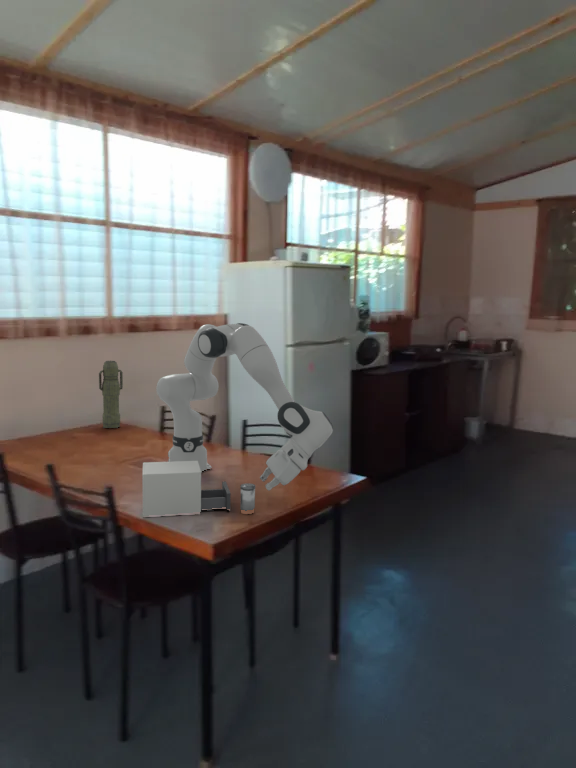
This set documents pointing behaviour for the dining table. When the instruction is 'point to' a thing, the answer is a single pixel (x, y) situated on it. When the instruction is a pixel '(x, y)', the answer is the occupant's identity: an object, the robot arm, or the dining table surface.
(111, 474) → the dining table surface
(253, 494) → the canister
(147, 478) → the grey box
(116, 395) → the thermos
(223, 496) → the grey drawer
